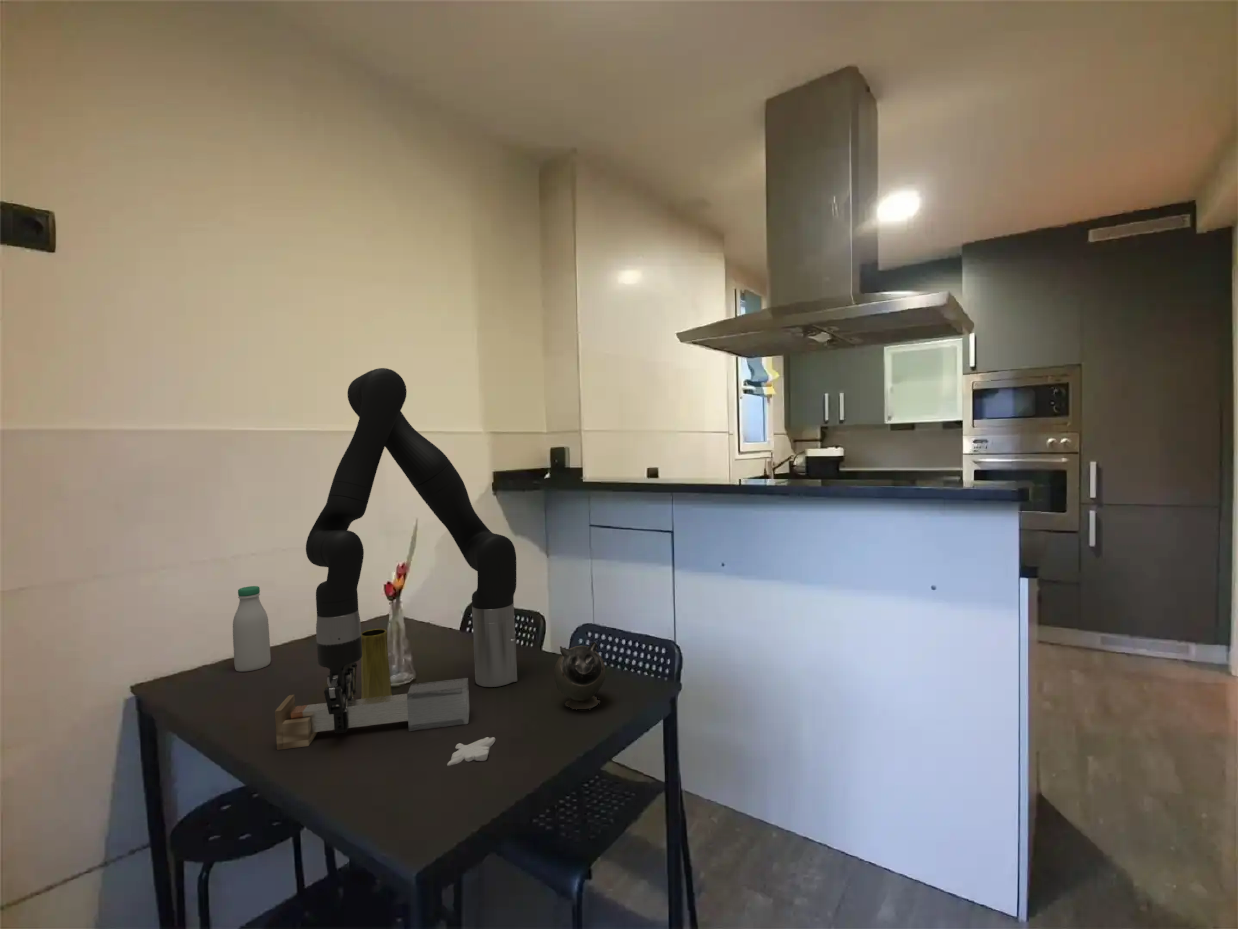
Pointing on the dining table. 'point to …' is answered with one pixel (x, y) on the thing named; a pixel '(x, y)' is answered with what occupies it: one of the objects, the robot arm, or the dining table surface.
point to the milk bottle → (250, 632)
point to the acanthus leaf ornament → (472, 751)
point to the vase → (375, 664)
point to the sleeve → (438, 704)
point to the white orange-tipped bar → (356, 712)
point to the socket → (291, 727)
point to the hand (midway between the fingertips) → (344, 727)
